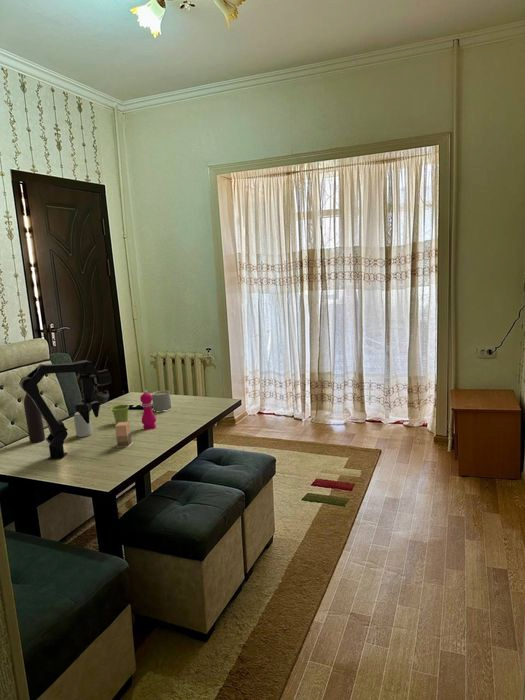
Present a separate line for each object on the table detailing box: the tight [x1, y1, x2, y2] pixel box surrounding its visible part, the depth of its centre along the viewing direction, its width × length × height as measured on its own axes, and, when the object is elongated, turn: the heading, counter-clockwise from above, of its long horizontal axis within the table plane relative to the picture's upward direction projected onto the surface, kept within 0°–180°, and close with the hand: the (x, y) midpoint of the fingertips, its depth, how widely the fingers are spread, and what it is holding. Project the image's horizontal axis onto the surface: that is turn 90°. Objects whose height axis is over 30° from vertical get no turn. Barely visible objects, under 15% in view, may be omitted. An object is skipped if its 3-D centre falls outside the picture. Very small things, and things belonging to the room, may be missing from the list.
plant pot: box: [110, 404, 130, 424], centre depth 264 cm, size 9×9×9 cm
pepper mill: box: [139, 390, 157, 431], centre depth 250 cm, size 7×7×20 cm
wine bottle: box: [23, 392, 46, 444], centre depth 243 cm, size 7×7×30 cm
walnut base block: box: [116, 432, 133, 448], centre depth 227 cm, size 5×5×5 cm
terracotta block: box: [114, 421, 132, 436], centre depth 226 cm, size 5×5×5 cm
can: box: [73, 411, 93, 438], centre depth 247 cm, size 8×8×12 cm
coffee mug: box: [151, 390, 172, 411], centre depth 283 cm, size 13×10×10 cm
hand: (92, 420), depth 229 cm, fingers open, 9 cm apart
